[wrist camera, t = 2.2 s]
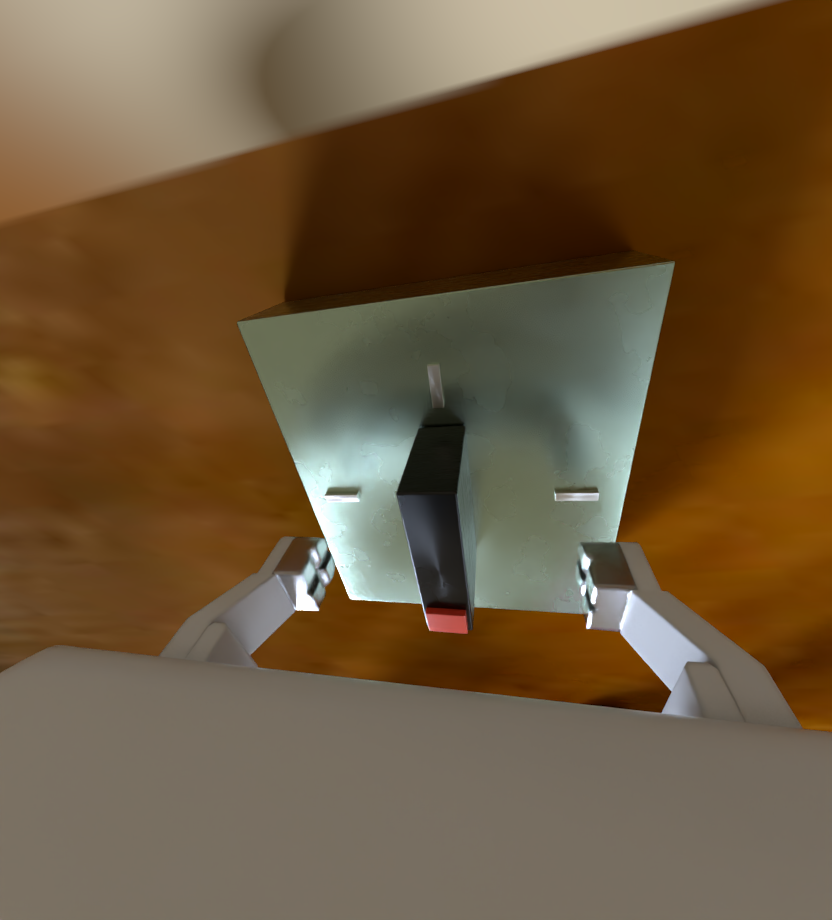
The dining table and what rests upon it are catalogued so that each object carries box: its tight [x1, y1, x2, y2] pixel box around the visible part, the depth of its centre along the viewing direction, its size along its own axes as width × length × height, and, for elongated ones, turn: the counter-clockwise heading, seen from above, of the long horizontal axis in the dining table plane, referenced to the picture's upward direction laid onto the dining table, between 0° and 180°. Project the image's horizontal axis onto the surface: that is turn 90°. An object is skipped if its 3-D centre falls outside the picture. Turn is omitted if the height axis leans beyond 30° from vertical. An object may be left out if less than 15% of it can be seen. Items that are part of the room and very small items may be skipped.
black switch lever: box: [396, 426, 477, 634], centre depth 12 cm, size 6×2×4 cm, turn 9°
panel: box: [237, 250, 675, 614], centre depth 15 cm, size 14×12×3 cm
